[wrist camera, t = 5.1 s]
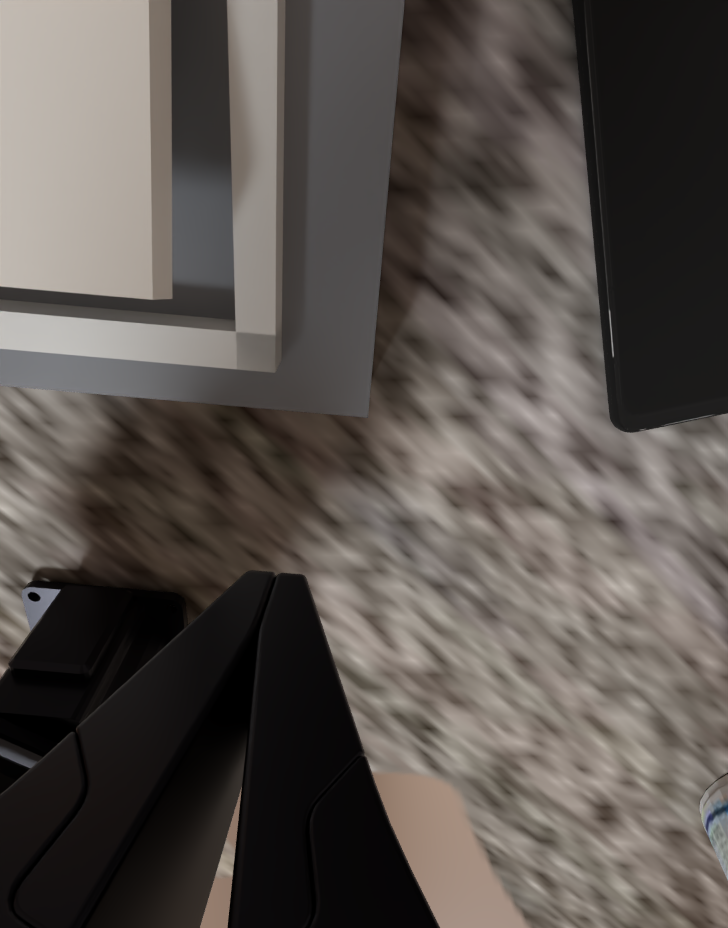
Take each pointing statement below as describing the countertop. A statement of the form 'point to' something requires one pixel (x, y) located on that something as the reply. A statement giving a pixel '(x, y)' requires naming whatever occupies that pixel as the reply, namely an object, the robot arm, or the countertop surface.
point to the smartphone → (658, 202)
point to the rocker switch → (86, 147)
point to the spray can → (717, 818)
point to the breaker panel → (248, 222)
